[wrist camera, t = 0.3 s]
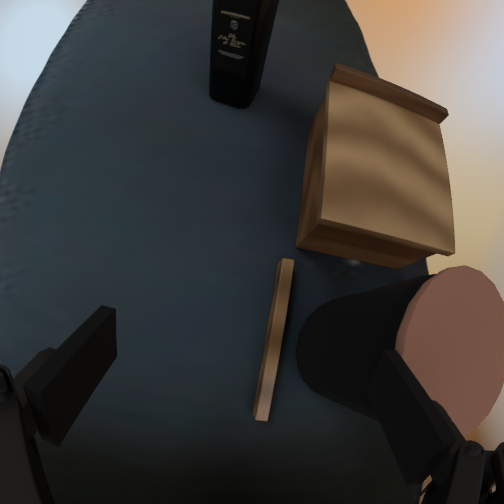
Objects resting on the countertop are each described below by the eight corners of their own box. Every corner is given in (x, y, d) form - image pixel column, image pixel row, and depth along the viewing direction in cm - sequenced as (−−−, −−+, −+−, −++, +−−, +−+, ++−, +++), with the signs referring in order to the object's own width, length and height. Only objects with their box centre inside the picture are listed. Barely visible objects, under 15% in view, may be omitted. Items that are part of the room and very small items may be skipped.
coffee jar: (395, 356, 32) (523, 359, 14) (325, 416, 29) (438, 476, 11) (350, 280, 33) (473, 233, 16) (272, 336, 30) (365, 343, 13)
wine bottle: (246, 112, 37) (293, -115, 8) (206, 99, 37) (219, -122, 8) (261, 86, 38) (311, -113, 9) (224, 74, 38) (248, -123, 9)
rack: (387, 419, 29) (454, 445, 18) (251, 413, 28) (274, 459, 17) (404, 158, 38) (453, 110, 27) (296, 124, 37) (325, 56, 26)
